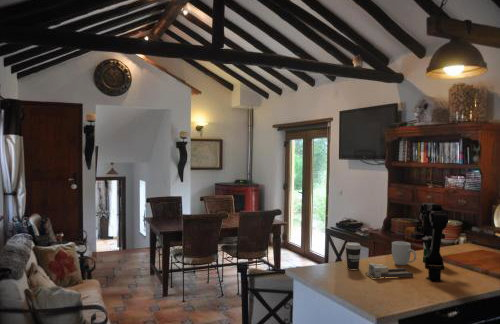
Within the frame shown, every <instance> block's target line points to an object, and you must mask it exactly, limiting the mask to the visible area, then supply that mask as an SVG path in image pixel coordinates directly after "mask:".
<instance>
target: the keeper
mask: <svg viewBox="0 0 500 324" xmlns="http://www.w3.org/2000/svg"><path fill="white" fill-rule="evenodd" d="M376 265H377V266H379V267H380V268H381V274H388V269H389V266H387V265H385V264H381V263H380V264H376Z"/></svg>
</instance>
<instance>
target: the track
mask: <svg viewBox="0 0 500 324" xmlns="http://www.w3.org/2000/svg"><path fill="white" fill-rule="evenodd" d="M377 265H378V264H376V263H375V262H373V263H368V272H367V271H366V272H365V275H366V274H368V275H369V276H371V277H372V278H380V277H384V278H385V277H411V278H414V273H413V272H408V271H407V270H406V268H405V267H404V268H388V274H381V268H380V267H379V266H377ZM369 276H368V277H369Z"/></svg>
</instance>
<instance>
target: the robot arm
mask: <svg viewBox="0 0 500 324" xmlns="http://www.w3.org/2000/svg"><path fill="white" fill-rule="evenodd" d="M418 212H419V213H420V214H419V220H421V221H422V224H421V226H420V227H419V226H414V232H412V233H410V238H411V239H413V240H415V241H419V240H420V241H421V240H422V243H423V245H424V244H425V247H426V250H427V255H426V257H425V259H424V261H425V263H424V268H425V269H426V270H428V275H427V277H425V279H426V280H427V281H430V282H431V283H441V282H442V283H443V282H444V279H441V278H442V275H441V274H442V273H441V271H445V265H444V264H445V263H444V258H443V256H442V254H441V247H442V246H441V245H442V240H445V239H446V234H445V233H443V231H444V230H446V228H447V227H448V223H449V221H450V220H449V215H448V212H447V211H446V210H445V209H444V208H443V207H442V204H439V203H434V202H422V204H420V206H419V209H418ZM436 212H437V213H436ZM438 212H439V213H438ZM430 248H431V249H430ZM429 249H430V250H429Z"/></svg>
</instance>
